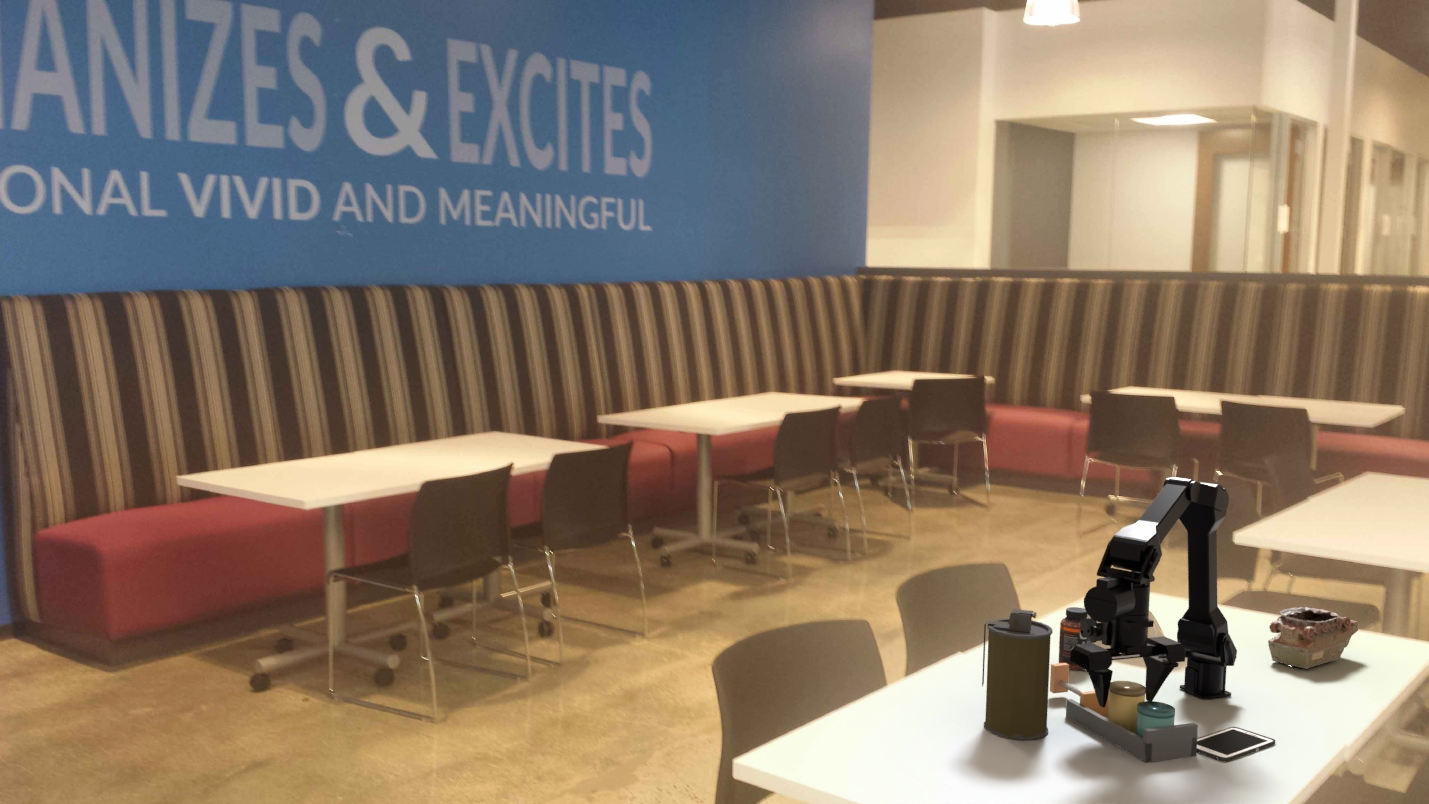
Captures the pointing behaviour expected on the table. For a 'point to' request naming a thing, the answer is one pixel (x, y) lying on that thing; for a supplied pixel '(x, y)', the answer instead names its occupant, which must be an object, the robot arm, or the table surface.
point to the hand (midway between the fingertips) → (1125, 703)
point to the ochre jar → (1125, 703)
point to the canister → (1017, 676)
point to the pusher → (1074, 689)
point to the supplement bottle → (1071, 635)
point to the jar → (1153, 715)
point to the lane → (1150, 747)
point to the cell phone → (1232, 744)
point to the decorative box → (1309, 636)
